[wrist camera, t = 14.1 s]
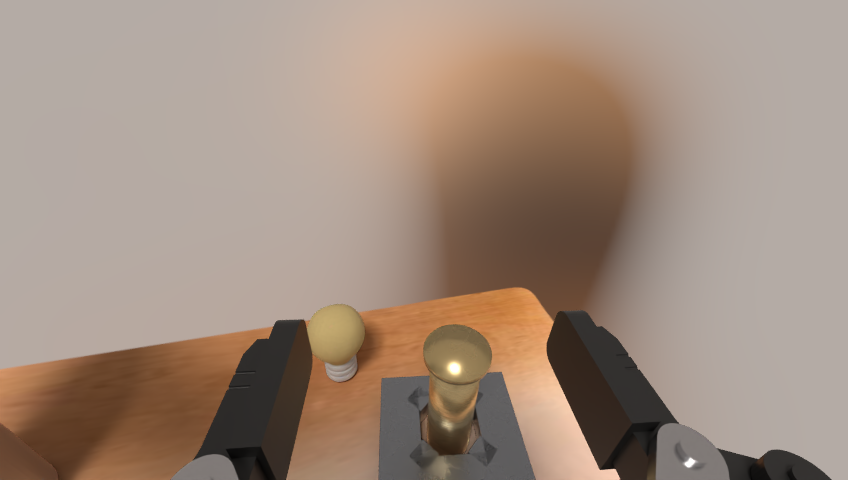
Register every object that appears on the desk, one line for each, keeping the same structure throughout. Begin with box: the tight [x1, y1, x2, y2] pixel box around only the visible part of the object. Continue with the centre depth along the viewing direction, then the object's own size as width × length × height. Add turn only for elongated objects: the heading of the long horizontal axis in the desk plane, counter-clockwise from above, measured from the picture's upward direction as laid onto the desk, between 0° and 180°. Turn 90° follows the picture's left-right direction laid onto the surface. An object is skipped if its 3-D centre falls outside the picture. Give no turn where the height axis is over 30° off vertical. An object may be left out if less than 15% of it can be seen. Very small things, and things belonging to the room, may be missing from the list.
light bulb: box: [307, 304, 365, 382], centre depth 38 cm, size 6×6×10 cm
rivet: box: [423, 325, 492, 456], centre depth 31 cm, size 6×6×14 cm
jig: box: [379, 372, 536, 480], centre depth 34 cm, size 14×11×2 cm
